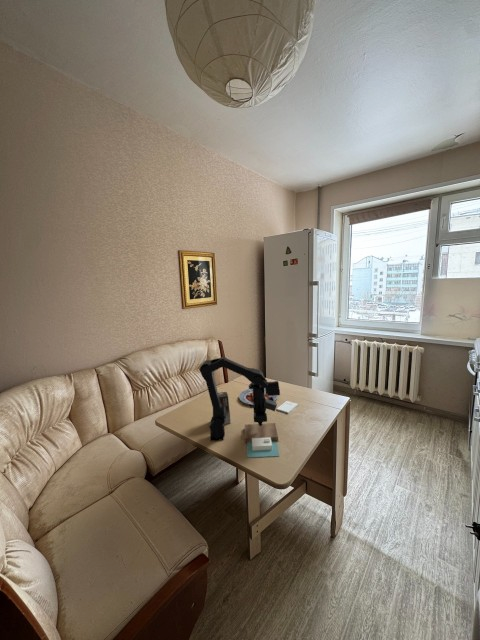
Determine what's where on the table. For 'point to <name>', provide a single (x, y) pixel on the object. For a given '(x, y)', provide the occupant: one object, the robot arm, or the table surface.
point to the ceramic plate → (248, 396)
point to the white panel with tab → (261, 443)
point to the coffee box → (224, 401)
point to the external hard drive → (287, 407)
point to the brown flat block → (260, 432)
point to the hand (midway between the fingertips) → (260, 425)
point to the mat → (262, 451)
